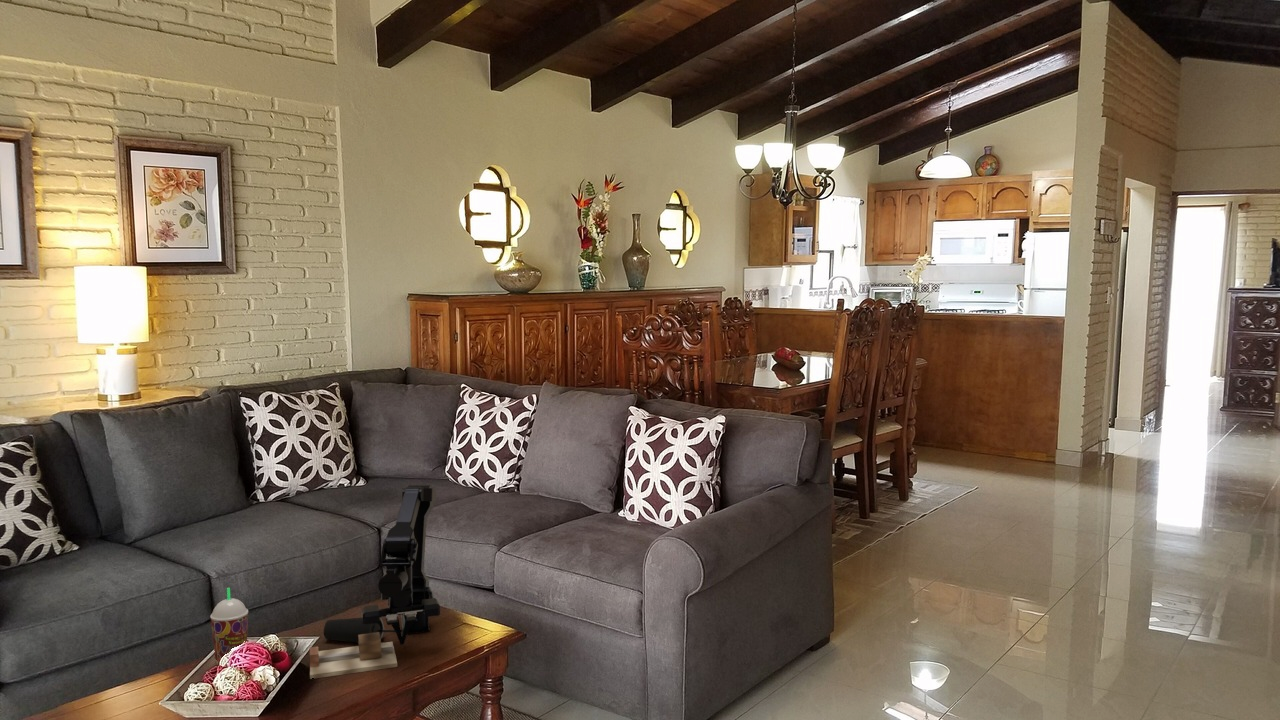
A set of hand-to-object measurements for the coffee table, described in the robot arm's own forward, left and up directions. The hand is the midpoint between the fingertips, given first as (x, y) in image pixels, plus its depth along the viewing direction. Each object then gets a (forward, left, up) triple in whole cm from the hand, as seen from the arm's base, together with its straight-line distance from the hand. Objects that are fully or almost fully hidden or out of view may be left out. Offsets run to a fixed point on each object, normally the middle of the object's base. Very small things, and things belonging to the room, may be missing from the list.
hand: (401, 643), depth 224 cm
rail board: (+12, 0, -3) cm, 12 cm away
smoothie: (+40, -6, -3) cm, 40 cm away
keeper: (+8, 0, -2) cm, 8 cm away
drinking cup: (+18, -17, 0) cm, 24 cm away
